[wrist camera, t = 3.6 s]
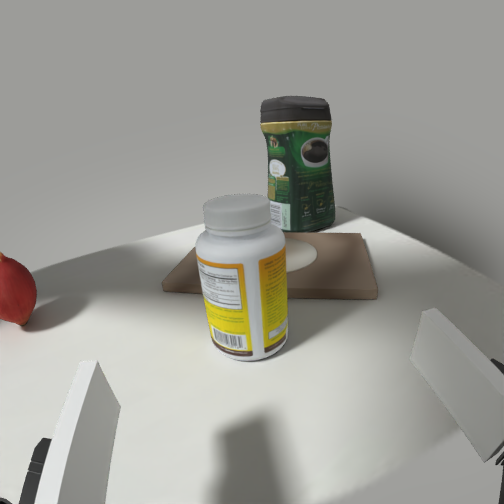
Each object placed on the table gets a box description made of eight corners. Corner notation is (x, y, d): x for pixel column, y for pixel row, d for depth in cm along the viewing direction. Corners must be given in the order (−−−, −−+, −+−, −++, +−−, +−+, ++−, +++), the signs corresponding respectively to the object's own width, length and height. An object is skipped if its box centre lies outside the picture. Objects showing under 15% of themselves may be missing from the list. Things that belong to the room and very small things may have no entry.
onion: (3, 319, 25) (-22, 252, 22) (44, 303, 28) (22, 235, 25) (1, 346, 21) (-32, 269, 18) (49, 327, 24) (20, 249, 21)
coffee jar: (308, 213, 50) (303, 99, 43) (343, 224, 44) (340, 95, 37) (258, 226, 46) (248, 98, 39) (291, 240, 40) (283, 91, 32)
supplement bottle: (279, 313, 25) (273, 187, 21) (296, 358, 20) (294, 207, 16) (211, 322, 24) (191, 196, 21) (213, 370, 19) (186, 219, 15)
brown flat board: (163, 291, 30) (161, 280, 29) (209, 239, 42) (208, 231, 42) (376, 299, 25) (378, 287, 25) (360, 240, 38) (360, 231, 37)
